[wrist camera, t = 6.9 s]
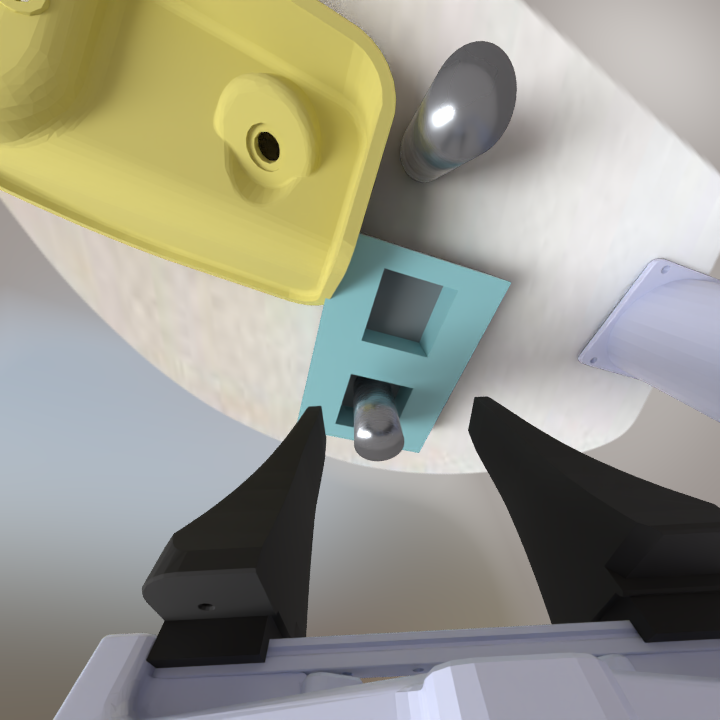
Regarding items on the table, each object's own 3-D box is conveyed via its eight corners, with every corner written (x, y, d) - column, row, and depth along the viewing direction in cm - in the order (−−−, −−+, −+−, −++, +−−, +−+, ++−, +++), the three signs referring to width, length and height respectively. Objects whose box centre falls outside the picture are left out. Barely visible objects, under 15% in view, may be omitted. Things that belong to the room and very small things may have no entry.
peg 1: (396, 376, 20) (412, 431, 15) (382, 405, 22) (392, 465, 16) (360, 366, 20) (364, 419, 14) (348, 396, 21) (347, 455, 16)
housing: (487, 273, 17) (511, 282, 15) (411, 427, 24) (418, 452, 21) (343, 227, 16) (341, 227, 13) (302, 404, 22) (295, 429, 19)
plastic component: (410, 61, 11) (341, 293, 11) (363, 173, 18) (322, 312, 18) (-407, -479, 5) (-537, -25, 5) (-10, -16, 13) (-68, 180, 13)
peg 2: (464, 125, 14) (534, 63, 8) (440, 189, 15) (488, 170, 10) (412, 103, 13) (451, 23, 8) (392, 172, 15) (415, 142, 9)
